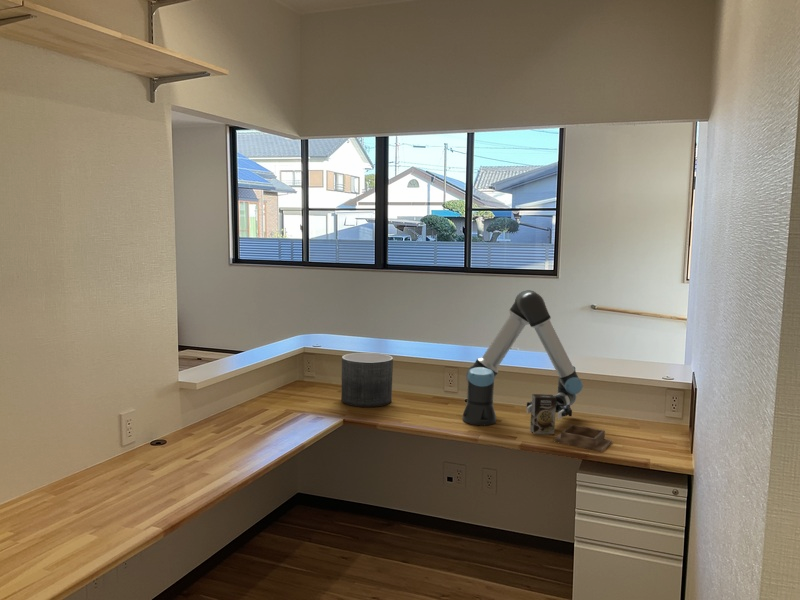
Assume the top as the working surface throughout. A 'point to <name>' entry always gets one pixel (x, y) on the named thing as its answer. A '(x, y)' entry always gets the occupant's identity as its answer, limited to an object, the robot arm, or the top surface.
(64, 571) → the top surface
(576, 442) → the stand
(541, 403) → the coffee box
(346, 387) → the planter
